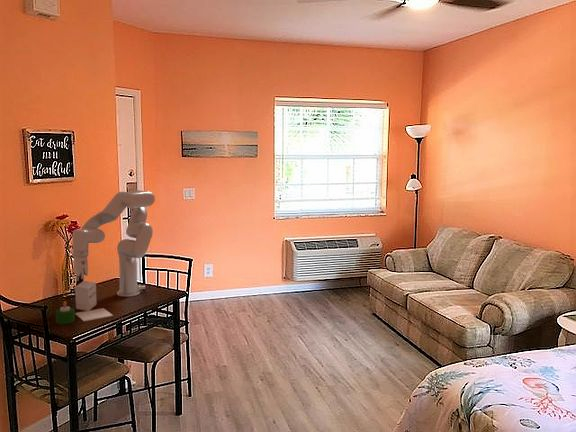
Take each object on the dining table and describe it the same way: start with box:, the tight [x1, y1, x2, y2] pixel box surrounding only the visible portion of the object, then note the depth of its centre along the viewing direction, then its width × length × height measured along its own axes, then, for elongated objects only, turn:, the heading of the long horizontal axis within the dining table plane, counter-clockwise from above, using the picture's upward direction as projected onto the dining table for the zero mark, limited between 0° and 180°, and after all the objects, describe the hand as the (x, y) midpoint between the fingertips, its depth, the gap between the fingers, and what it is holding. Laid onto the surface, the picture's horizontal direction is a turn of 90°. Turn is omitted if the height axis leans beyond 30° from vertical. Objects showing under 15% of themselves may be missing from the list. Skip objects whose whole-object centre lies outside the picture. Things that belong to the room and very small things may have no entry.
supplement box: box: [74, 280, 97, 311], centre depth 254 cm, size 7×7×13 cm
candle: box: [55, 300, 76, 325], centre depth 238 cm, size 8×8×10 cm
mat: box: [75, 307, 114, 322], centre depth 248 cm, size 14×13×1 cm
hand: (79, 288), depth 258 cm, fingers closed
